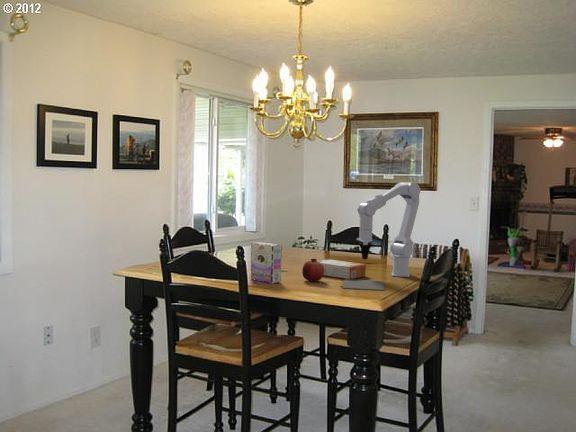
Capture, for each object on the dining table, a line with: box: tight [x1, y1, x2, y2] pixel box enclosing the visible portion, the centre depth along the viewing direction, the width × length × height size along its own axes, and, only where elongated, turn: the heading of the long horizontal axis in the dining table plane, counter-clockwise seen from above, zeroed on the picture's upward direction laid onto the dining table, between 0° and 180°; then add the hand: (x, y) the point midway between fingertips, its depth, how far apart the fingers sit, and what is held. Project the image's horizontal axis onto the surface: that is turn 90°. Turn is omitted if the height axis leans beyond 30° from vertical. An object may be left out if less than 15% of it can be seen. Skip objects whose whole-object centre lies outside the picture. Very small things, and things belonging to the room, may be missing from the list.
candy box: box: [250, 241, 283, 285], centre depth 263 cm, size 14×6×16 cm, turn 44°
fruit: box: [301, 258, 325, 283], centre depth 266 cm, size 11×10×10 cm
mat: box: [342, 278, 385, 292], centre depth 261 cm, size 20×17×1 cm
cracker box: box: [317, 259, 367, 280], centre depth 283 cm, size 14×6×21 cm
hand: (364, 259), depth 277 cm, fingers closed
